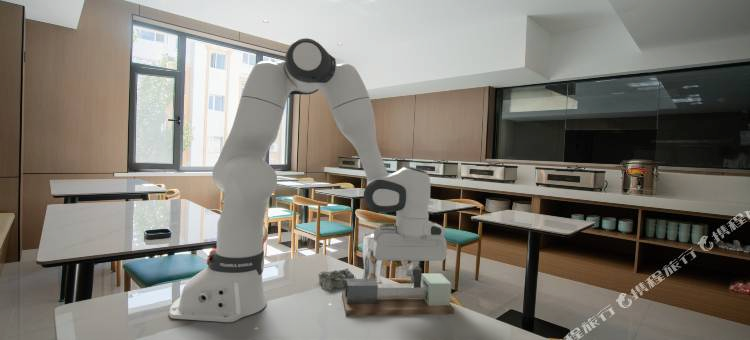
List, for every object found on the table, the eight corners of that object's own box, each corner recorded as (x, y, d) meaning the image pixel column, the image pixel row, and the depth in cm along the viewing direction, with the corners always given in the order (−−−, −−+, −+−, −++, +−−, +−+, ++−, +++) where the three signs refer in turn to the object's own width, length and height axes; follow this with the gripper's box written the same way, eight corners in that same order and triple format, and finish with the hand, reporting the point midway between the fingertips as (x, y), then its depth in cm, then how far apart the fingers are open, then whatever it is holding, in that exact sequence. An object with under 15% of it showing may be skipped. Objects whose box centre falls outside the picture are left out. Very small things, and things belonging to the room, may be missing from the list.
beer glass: (379, 286, 113) (382, 239, 113) (358, 283, 115) (361, 236, 114) (383, 279, 120) (386, 234, 119) (363, 276, 122) (366, 232, 121)
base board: (345, 316, 92) (346, 310, 92) (341, 296, 104) (342, 291, 104) (454, 313, 97) (454, 308, 97) (438, 295, 109) (439, 290, 109)
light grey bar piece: (364, 299, 97) (365, 269, 97) (362, 294, 100) (364, 265, 100) (438, 298, 101) (441, 269, 100) (435, 293, 104) (437, 266, 103)
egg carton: (323, 291, 108) (324, 277, 108) (316, 282, 115) (316, 269, 114) (356, 286, 113) (357, 274, 112) (347, 278, 119) (348, 266, 119)
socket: (428, 311, 98) (430, 283, 98) (419, 298, 106) (421, 273, 105) (449, 310, 99) (451, 283, 99) (439, 298, 107) (441, 273, 106)
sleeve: (346, 304, 96) (347, 285, 95) (345, 296, 100) (346, 278, 100) (376, 303, 97) (377, 285, 97) (373, 296, 102) (374, 278, 102)
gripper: (376, 227, 95) (373, 279, 96) (450, 229, 99) (447, 279, 99) (372, 222, 101) (369, 271, 102) (442, 224, 105) (438, 271, 106)
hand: (408, 275), depth 101 cm, fingers closed
